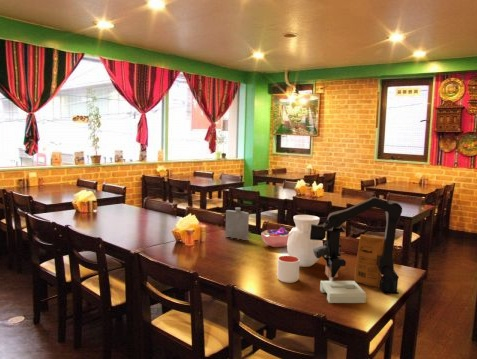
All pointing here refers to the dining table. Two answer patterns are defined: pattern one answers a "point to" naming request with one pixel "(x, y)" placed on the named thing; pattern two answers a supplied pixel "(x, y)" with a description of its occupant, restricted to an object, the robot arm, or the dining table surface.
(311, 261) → the white vase
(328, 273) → the peg
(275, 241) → the cell model
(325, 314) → the dining table surface
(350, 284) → the keyhole plate
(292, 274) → the cup
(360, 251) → the coffee package
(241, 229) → the hip flask
